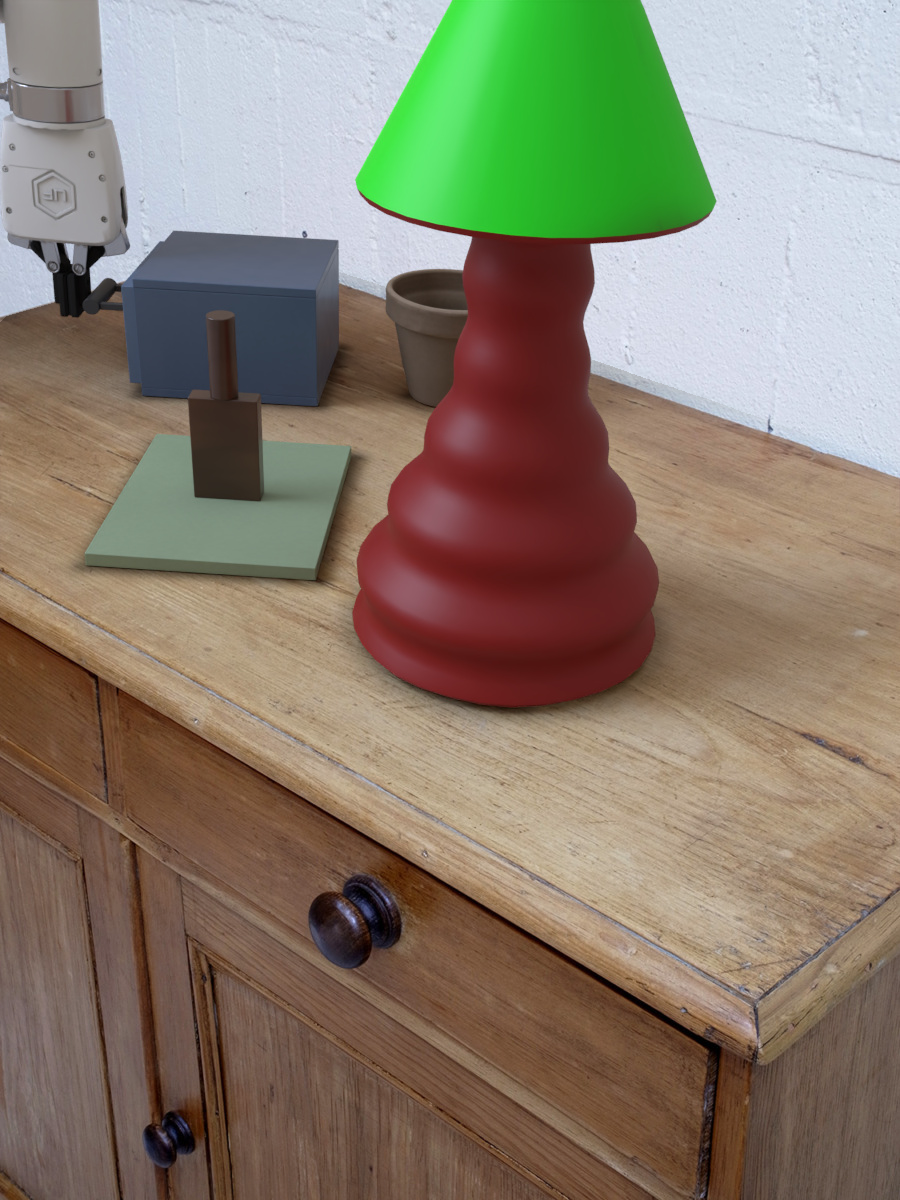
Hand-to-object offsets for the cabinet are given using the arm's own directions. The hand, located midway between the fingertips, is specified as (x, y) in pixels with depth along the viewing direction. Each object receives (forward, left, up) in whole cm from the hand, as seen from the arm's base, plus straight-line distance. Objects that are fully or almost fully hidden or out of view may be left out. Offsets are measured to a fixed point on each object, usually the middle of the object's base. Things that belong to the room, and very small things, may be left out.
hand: (74, 312), depth 120 cm
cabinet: (+16, 0, -5) cm, 16 cm away
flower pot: (+35, -3, -5) cm, 35 cm away
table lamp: (+41, -41, -5) cm, 58 cm away
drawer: (+11, 0, -4) cm, 12 cm away
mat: (+20, -27, -5) cm, 34 cm away
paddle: (+20, -27, -4) cm, 34 cm away
